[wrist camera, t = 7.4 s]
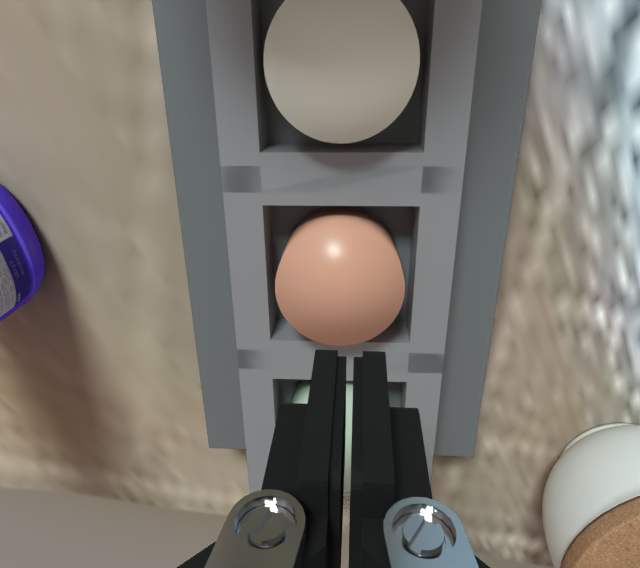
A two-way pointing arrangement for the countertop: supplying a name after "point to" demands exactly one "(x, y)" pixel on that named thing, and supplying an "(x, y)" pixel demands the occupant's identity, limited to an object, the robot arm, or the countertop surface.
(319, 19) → the cream button
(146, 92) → the countertop surface
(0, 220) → the bottle
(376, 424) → the robot arm
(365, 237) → the peach rounded dome
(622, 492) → the lidded jar
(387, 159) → the grey compartment tray
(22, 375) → the countertop surface
